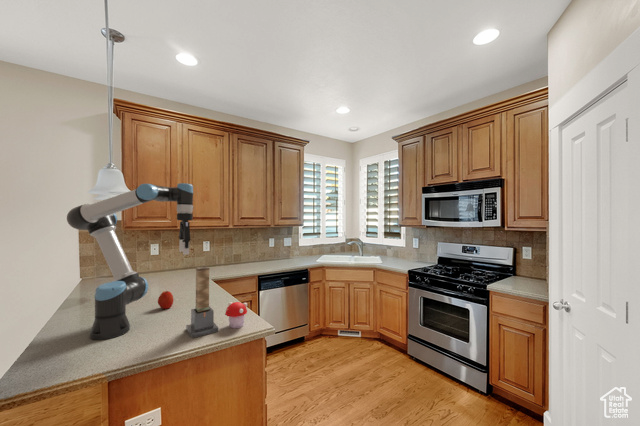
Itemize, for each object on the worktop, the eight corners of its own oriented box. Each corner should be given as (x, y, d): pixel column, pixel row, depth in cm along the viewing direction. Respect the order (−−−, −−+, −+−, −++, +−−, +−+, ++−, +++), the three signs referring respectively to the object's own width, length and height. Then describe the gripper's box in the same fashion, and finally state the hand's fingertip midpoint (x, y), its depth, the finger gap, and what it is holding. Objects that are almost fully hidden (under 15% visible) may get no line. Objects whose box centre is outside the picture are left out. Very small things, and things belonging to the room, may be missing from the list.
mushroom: (251, 324, 140) (252, 300, 140) (235, 332, 130) (235, 307, 130) (237, 320, 145) (237, 297, 145) (220, 327, 136) (220, 303, 136)
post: (197, 312, 128) (198, 269, 129) (195, 309, 133) (195, 267, 133) (209, 309, 131) (209, 268, 132) (206, 307, 136) (206, 266, 136)
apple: (155, 310, 159) (155, 292, 160) (162, 306, 168) (162, 288, 168) (169, 310, 160) (169, 292, 160) (176, 305, 168) (176, 288, 168)
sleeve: (191, 338, 124) (191, 316, 124) (186, 329, 133) (186, 309, 133) (218, 331, 131) (218, 310, 131) (211, 323, 140) (211, 304, 140)
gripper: (197, 213, 135) (196, 255, 134) (188, 213, 155) (187, 249, 155) (180, 212, 130) (179, 256, 130) (173, 212, 151) (173, 250, 151)
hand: (184, 253), depth 142 cm, fingers open, 13 cm apart
